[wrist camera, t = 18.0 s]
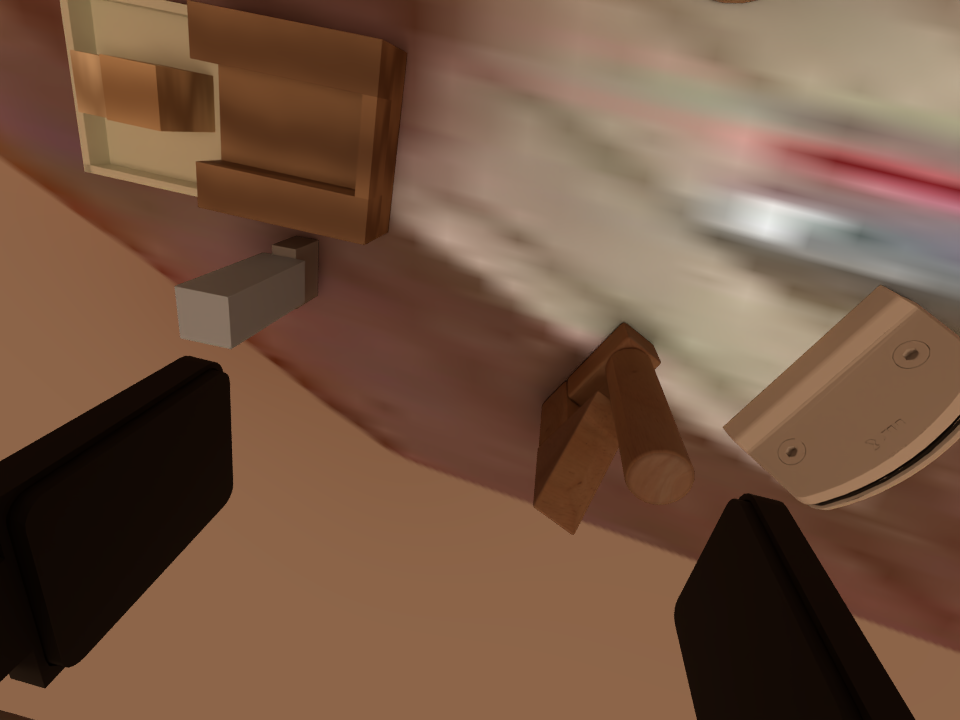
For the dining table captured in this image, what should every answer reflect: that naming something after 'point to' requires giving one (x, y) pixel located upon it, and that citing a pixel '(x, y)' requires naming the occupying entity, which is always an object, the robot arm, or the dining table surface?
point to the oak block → (157, 96)
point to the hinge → (858, 405)
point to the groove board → (300, 123)
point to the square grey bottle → (248, 294)
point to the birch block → (88, 83)
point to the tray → (153, 39)
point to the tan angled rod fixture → (609, 432)
